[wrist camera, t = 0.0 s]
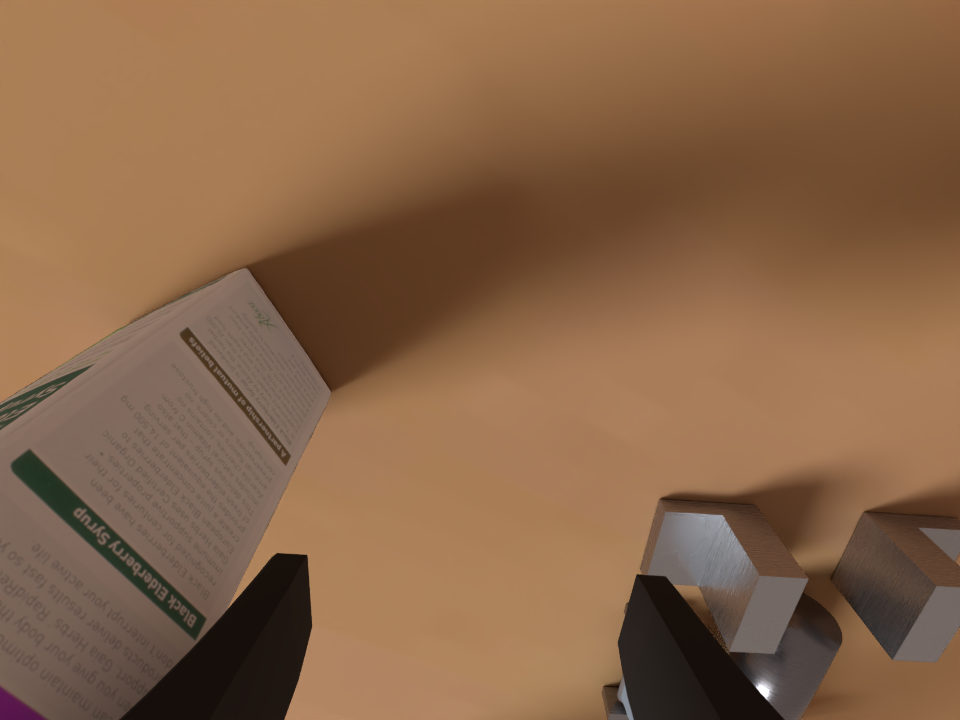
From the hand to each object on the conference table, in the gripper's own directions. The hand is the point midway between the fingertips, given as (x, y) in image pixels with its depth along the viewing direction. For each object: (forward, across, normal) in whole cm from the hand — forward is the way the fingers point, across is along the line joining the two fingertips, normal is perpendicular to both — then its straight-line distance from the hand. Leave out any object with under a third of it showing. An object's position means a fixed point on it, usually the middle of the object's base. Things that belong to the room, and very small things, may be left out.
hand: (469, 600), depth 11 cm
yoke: (+10, -15, +7) cm, 19 cm away
